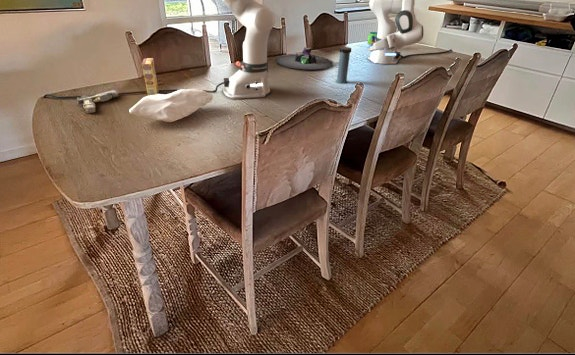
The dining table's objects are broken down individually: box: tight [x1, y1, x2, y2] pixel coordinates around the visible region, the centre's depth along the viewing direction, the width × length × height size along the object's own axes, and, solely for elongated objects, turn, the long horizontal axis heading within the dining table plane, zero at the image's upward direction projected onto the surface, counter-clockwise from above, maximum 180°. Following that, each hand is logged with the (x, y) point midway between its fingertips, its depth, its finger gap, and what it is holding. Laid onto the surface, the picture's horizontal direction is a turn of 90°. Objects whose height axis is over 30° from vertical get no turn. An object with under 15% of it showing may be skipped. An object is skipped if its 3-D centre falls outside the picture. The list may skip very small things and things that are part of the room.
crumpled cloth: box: [129, 88, 214, 123], centre depth 147 cm, size 24×35×9 cm
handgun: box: [76, 89, 120, 114], centre depth 155 cm, size 3×18×15 cm
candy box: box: [141, 57, 160, 96], centre depth 163 cm, size 9×4×15 cm, turn 13°
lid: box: [338, 46, 352, 54], centre depth 184 cm, size 6×6×2 cm
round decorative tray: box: [275, 46, 334, 71], centre depth 220 cm, size 35×35×9 cm
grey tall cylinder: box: [336, 51, 351, 84], centre depth 189 cm, size 5×5×17 cm
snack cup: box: [366, 31, 378, 48], centre depth 258 cm, size 16×10×10 cm
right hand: (368, 50), depth 207 cm, fingers open, 8 cm apart
